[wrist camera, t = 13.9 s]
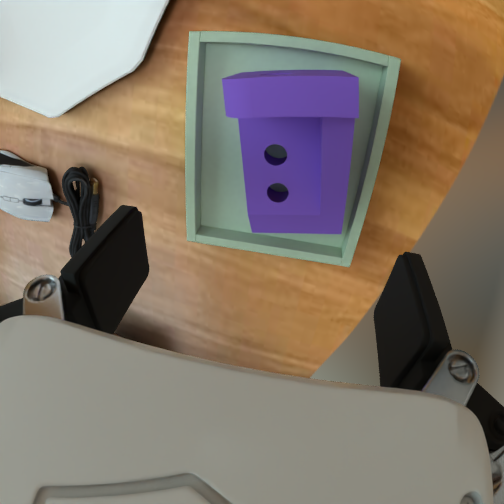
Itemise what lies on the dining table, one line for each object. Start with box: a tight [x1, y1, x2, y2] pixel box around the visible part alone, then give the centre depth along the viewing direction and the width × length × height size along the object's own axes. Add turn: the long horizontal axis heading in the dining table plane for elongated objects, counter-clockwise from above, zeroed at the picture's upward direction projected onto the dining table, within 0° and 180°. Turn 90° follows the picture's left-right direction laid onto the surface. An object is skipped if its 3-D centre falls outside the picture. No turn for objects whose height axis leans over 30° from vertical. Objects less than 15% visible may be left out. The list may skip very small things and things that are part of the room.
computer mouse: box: [0, 150, 99, 257], centre depth 27 cm, size 10×18×4 cm, turn 72°
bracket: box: [222, 70, 359, 234], centre depth 19 cm, size 12×7×7 cm, turn 5°
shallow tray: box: [185, 31, 401, 267], centre depth 22 cm, size 14×17×2 cm
